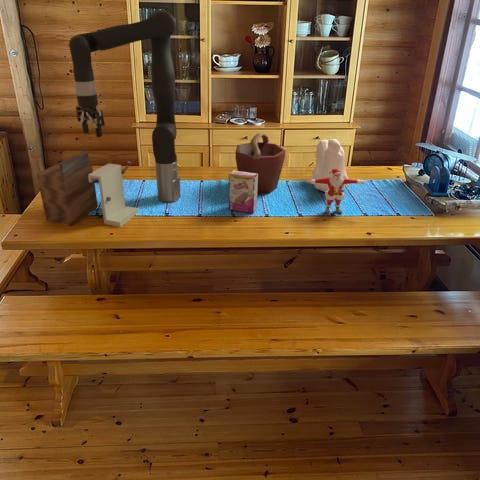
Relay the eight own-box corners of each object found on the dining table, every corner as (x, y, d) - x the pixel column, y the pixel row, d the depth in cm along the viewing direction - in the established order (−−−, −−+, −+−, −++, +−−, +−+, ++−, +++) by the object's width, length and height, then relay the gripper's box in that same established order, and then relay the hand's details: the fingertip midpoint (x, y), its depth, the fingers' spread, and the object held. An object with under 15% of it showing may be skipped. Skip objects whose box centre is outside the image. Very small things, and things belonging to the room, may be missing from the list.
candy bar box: (228, 210, 202) (228, 173, 194) (232, 205, 206) (232, 169, 198) (253, 214, 199) (254, 177, 191) (257, 209, 203) (258, 173, 195)
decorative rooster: (350, 197, 216) (357, 143, 204) (315, 197, 215) (320, 143, 204) (338, 177, 238) (344, 127, 226) (306, 177, 237) (311, 127, 226)
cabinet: (98, 207, 203) (90, 150, 191) (71, 225, 188) (60, 165, 176) (74, 203, 206) (64, 147, 194) (46, 221, 191) (34, 161, 179)
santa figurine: (303, 214, 200) (307, 171, 191) (302, 208, 205) (305, 166, 196) (363, 214, 200) (370, 172, 191) (360, 208, 205) (366, 167, 196)
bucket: (266, 201, 211) (268, 146, 199) (223, 191, 220) (223, 138, 208) (289, 183, 229) (292, 132, 217) (248, 175, 239) (250, 125, 227)
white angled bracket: (138, 212, 199) (133, 166, 190) (120, 226, 187) (114, 178, 178) (114, 208, 202) (108, 163, 193) (94, 222, 191) (87, 174, 181)
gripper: (106, 93, 180) (111, 136, 187) (83, 89, 188) (89, 129, 195) (89, 97, 175) (95, 140, 182) (66, 92, 182) (73, 133, 190)
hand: (92, 135), depth 189 cm, fingers open, 8 cm apart
